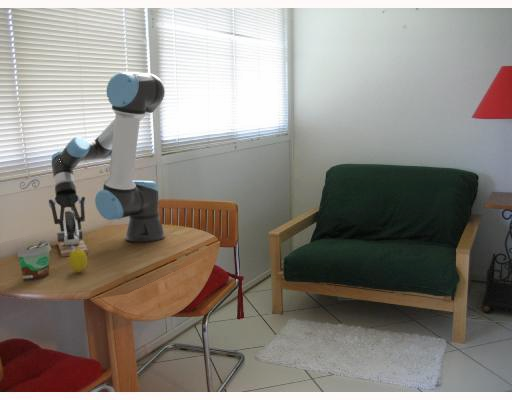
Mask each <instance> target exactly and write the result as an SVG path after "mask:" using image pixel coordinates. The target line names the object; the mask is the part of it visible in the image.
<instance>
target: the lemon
mask: <svg viewBox="0 0 512 400" xmlns="http://www.w3.org/2000/svg"><path fill="white" fill-rule="evenodd" d="M68 262H69V263H68V264H69V267H70V268H71V270H73V271H75V272H77V273H81V272H82V271H83V270H85V269H86V267H88V266H87V265H88V256H87V254H86V253H85V252H84V251H83V250H80V249H78V248H76V250H74V251H72V252H71V254H70V256H68Z"/></svg>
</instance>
